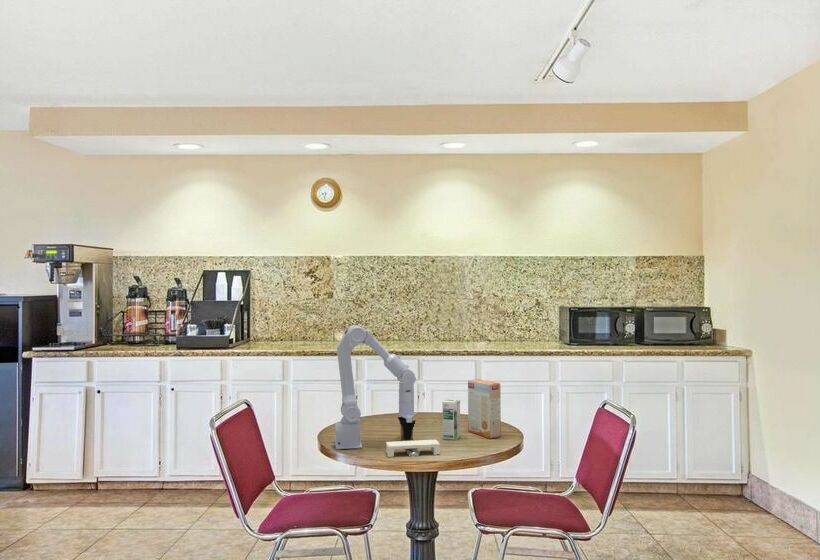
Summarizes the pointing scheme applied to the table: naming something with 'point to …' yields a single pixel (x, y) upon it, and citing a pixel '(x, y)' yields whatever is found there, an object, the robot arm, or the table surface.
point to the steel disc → (413, 452)
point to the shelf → (412, 446)
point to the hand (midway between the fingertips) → (406, 437)
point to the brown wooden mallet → (407, 439)
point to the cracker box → (484, 408)
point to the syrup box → (451, 419)
